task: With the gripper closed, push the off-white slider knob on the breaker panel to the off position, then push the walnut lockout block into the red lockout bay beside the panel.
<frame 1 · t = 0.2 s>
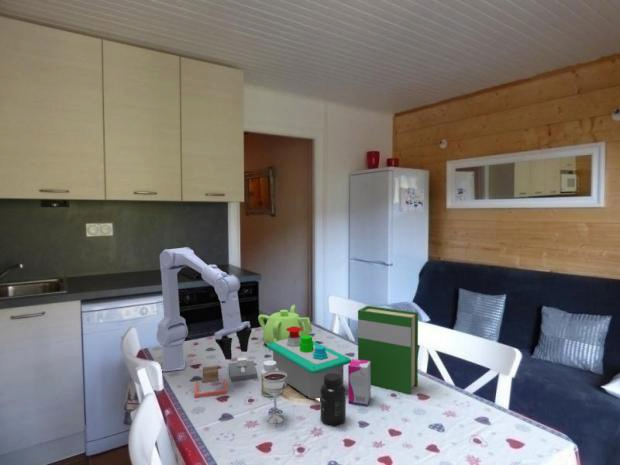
hand: (236, 355, 126), 10 cm above the table, fingers open, 7 cm apart
wineglass: (275, 418, 107), on the table
lockout bay: (210, 388, 124), on the table
lockout block: (210, 379, 132), on the table
breaker panel: (242, 372, 137), on the table
supplement bottle 2: (270, 393, 121), on the table
supplement box: (359, 401, 116), on the table
control panel: (306, 382, 129), on the table
supplement bottle: (333, 420, 106), on the table
hardback book: (387, 384, 127), on the table
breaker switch: (241, 362, 139), point 3 cm above the table, slide at 0.0 cm
teapot: (286, 342, 168), on the table
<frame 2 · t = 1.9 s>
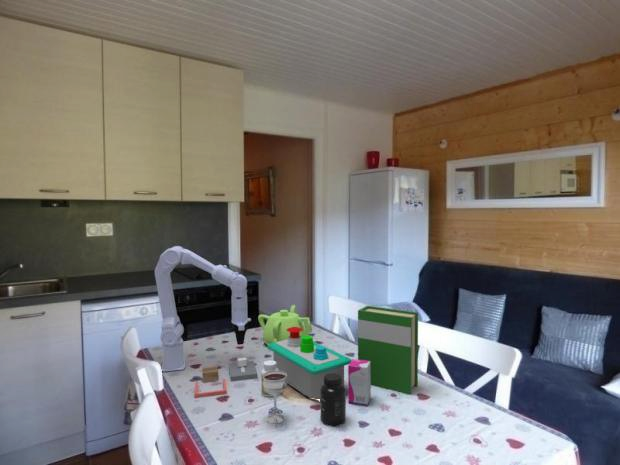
hand: (240, 343, 145), 7 cm above the table, fingers closed
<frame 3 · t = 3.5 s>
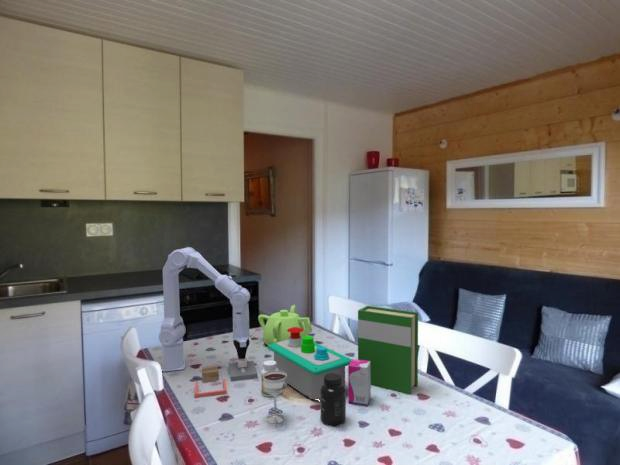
hand: (241, 360, 140), 3 cm above the table, fingers closed
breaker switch: (242, 363, 138), point 3 cm above the table, slide at 0.9 cm, touching gripper
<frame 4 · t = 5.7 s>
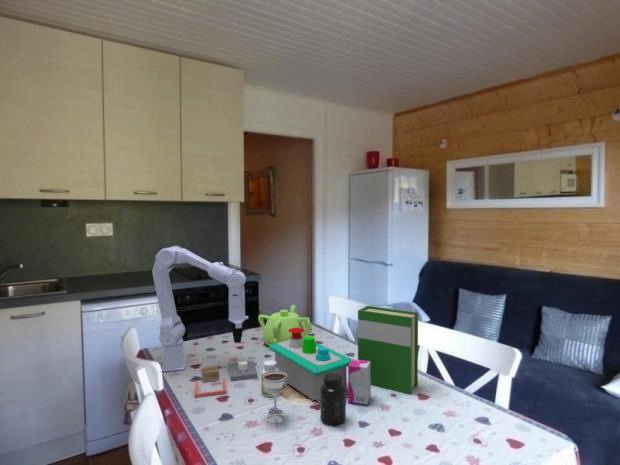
hand: (237, 342, 141), 9 cm above the table, fingers closed
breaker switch: (242, 366, 135), point 3 cm above the table, slide at 3.7 cm
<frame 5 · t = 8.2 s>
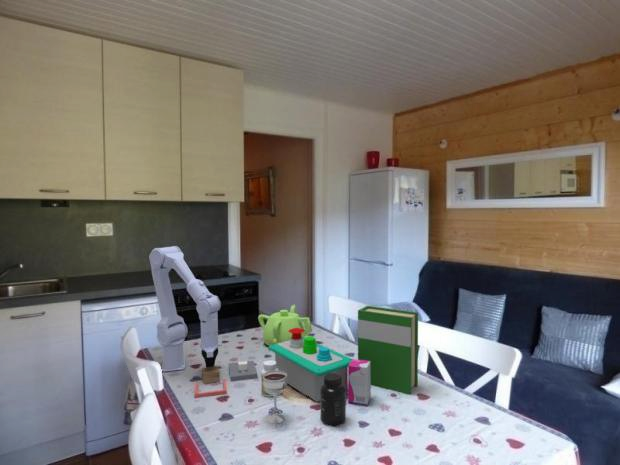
hand: (210, 370, 135), 2 cm above the table, fingers closed
lockout block: (210, 379, 131), on the table, touching gripper
supplement box: (359, 401, 116), on the table, touching control panel
control panel: (310, 384, 128), on the table, touching supplement box
everything else where it was.
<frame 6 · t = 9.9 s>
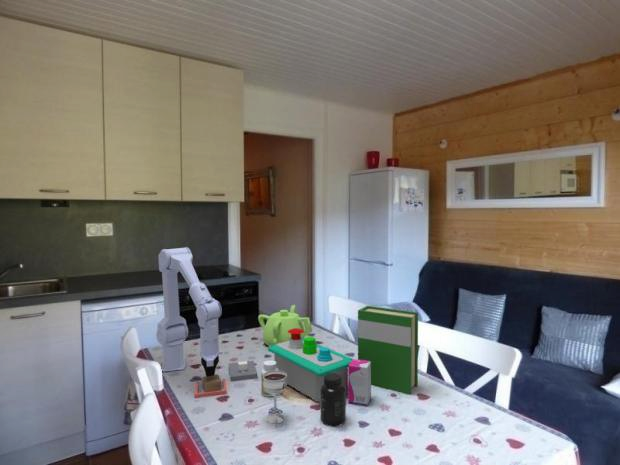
hand: (210, 379, 127), 2 cm above the table, fingers closed
lockout block: (212, 389, 124), resting in lockout bay, touching gripper
supplement box: (359, 401, 116), on the table
control panel: (310, 384, 128), on the table
everything else where it was.
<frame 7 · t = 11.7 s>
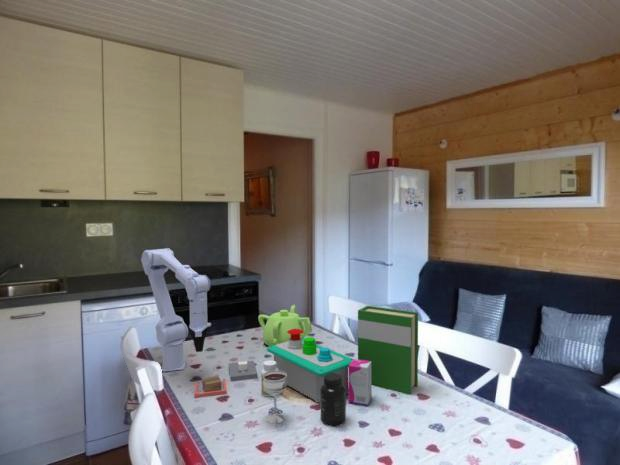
hand: (199, 351, 132), 9 cm above the table, fingers closed
lockout block: (212, 390, 124), resting in lockout bay
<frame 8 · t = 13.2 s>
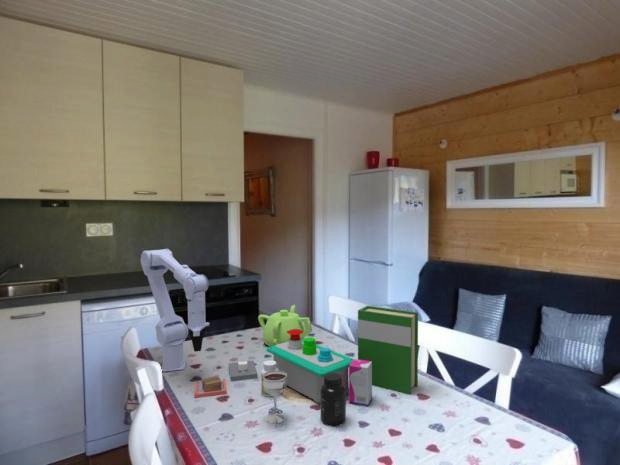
hand: (197, 350, 133), 9 cm above the table, fingers closed
nothing on the table moved.
at the end: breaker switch slide at 3.7 cm; lockout block 0.4 cm from the target spot, resting in lockout bay; lockout block tilted 0° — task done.
